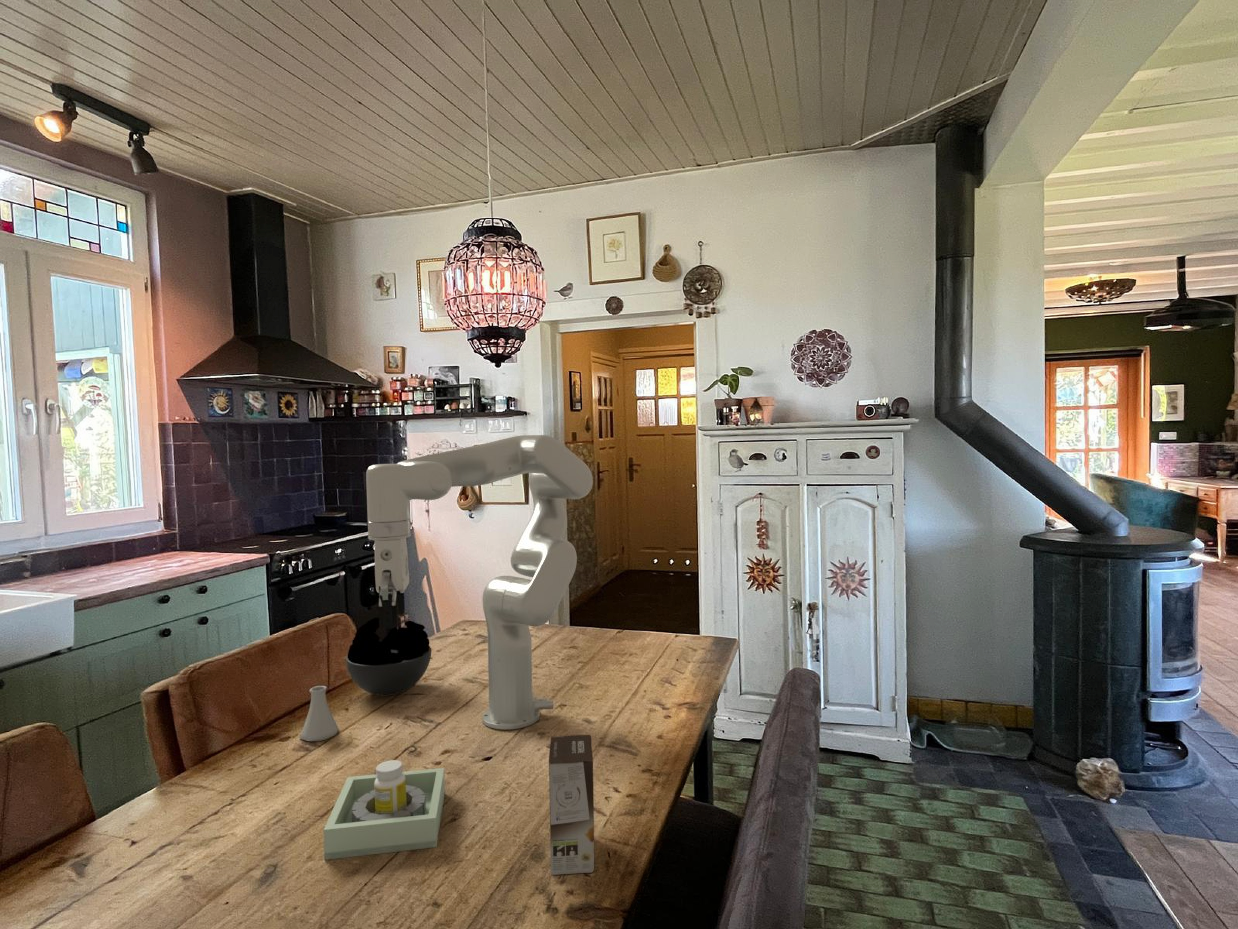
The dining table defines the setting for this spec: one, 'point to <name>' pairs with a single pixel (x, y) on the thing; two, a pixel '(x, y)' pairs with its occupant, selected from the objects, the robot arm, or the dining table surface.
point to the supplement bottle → (390, 788)
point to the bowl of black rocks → (388, 658)
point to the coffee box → (571, 804)
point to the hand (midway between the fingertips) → (392, 620)
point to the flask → (319, 717)
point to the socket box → (385, 817)
